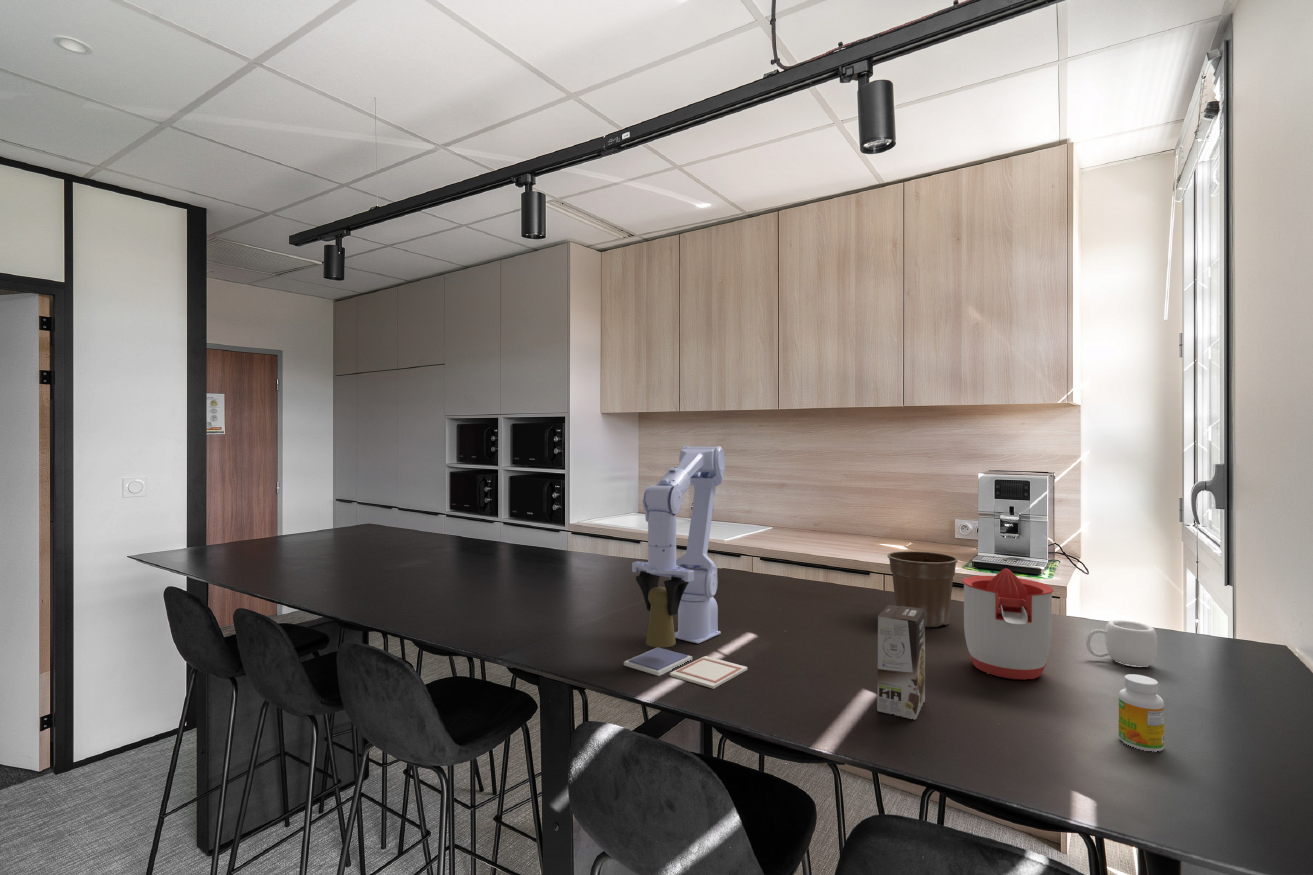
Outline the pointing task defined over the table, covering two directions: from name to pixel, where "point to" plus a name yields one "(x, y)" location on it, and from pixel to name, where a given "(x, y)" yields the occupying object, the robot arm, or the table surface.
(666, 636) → the cork
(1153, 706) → the supplement bottle
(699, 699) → the table surface
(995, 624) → the citrus juicer
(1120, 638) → the mug
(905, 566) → the plant pot
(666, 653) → the ink pad
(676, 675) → the marked board
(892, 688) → the coffee box
